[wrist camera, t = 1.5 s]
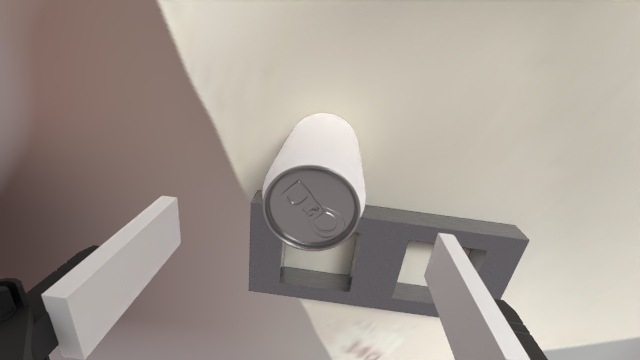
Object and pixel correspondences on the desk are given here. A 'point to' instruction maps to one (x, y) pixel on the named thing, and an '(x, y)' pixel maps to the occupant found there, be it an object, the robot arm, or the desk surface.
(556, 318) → the desk surface
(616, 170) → the desk surface
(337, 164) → the can
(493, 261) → the holder
